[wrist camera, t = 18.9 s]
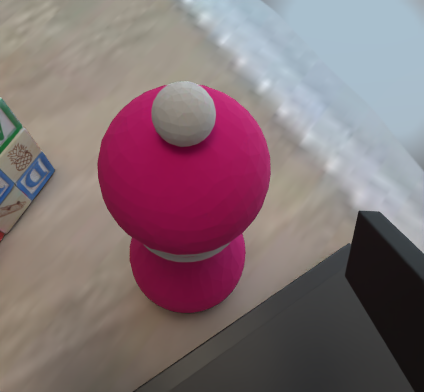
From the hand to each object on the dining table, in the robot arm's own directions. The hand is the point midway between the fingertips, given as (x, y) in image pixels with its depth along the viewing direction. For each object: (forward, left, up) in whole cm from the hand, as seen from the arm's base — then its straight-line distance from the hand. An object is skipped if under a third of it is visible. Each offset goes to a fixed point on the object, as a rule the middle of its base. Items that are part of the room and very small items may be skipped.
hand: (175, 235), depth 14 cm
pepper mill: (0, +2, -15) cm, 15 cm away
